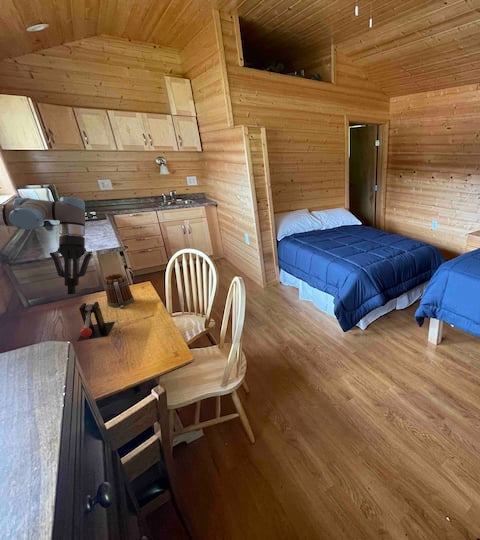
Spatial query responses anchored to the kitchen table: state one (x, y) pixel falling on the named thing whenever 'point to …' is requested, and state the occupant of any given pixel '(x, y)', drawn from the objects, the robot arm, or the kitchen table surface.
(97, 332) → the lever base
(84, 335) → the lever
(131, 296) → the mug
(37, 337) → the kitchen table surface
